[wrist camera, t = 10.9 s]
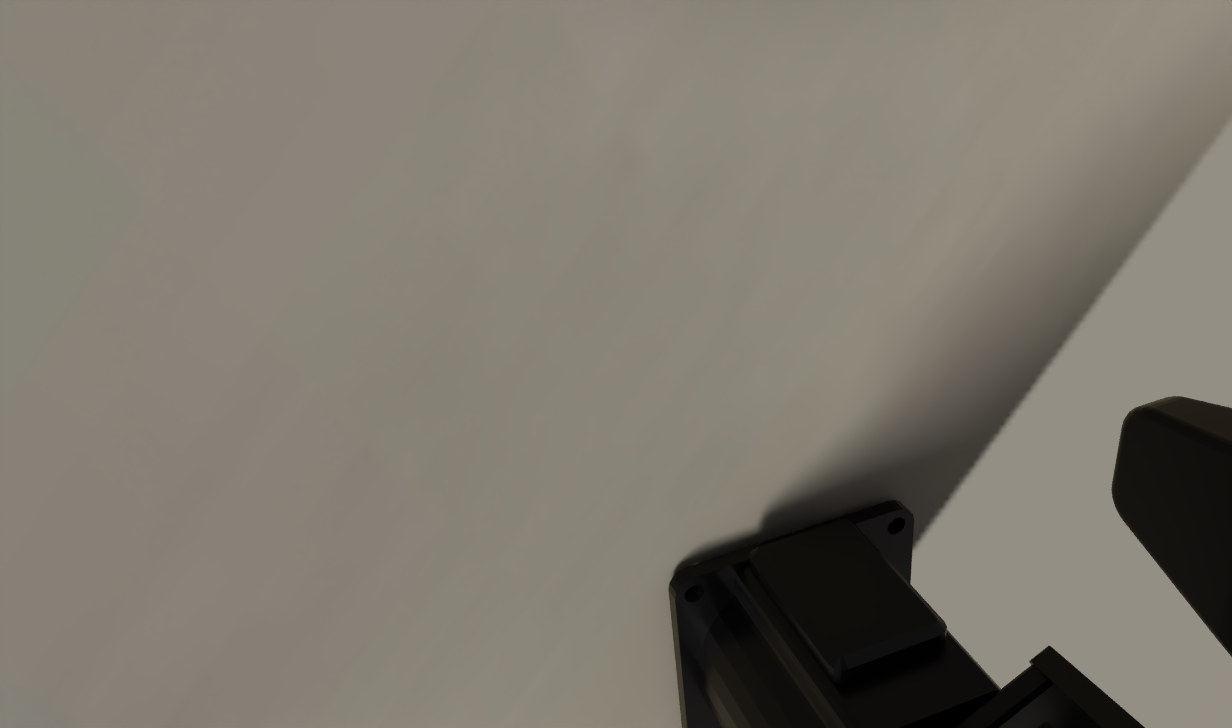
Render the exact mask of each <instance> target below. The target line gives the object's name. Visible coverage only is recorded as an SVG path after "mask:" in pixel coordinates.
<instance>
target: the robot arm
mask: <svg viewBox="0 0 1232 728" xmlns="http://www.w3.org/2000/svg"><path fill="white" fill-rule="evenodd" d="M1112 497H1113V501H1114V504H1115V507H1116V509H1117V511H1118V513H1119V515H1120V517H1121V518H1122V519H1123V521H1124V522H1125V523H1126V525H1127V526H1128V527H1129V528H1130V530H1131V531H1132V532H1133V533H1134V535H1135V536H1136V537H1137V539H1139V541H1140V542H1141V544H1142V545H1143V546H1144V547H1145V549H1146V550H1147V551H1148V552H1149V554H1150V555H1151V556H1152V557H1153V559H1154V560H1155V561H1156V562H1157V564H1158V565H1159V566H1160V568H1161V569H1162V570H1163V571H1164V573H1165V574H1166V575H1167V576H1168V577H1169V579H1170V580H1171V581H1172V583H1173V584H1174V585H1175V587H1176V588H1177V589H1178V590H1179V592H1180V593H1181V594H1182V595H1183V597H1184V598H1185V599H1186V600H1187V602H1188V603H1189V604H1190V605H1191V607H1192V608H1193V609H1194V610H1195V612H1196V613H1197V614H1198V616H1199V617H1200V618H1201V619H1202V620H1203V622H1204V623H1205V624H1206V626H1207V627H1208V628H1209V629H1210V630H1211V632H1212V633H1213V634H1214V635H1215V637H1216V638H1217V639H1218V641H1219V642H1220V643H1221V644H1222V646H1223V647H1224V648H1225V649H1226V650H1227V652H1228V653H1229V654H1230V655H1231V656H1232V408H1229V407H1224V406H1220V405H1216V404H1211V403H1207V402H1203V401H1198V400H1194V399H1190V398H1186V397H1179V396H1177V397H1176V396H1173V397H1167V398H1164V399H1160V400H1157V401H1155V402H1151V403H1148V404H1145V405H1142V406H1139V407H1136V408H1134V409H1133V410H1132V411H1130V412H1129V413H1128V415H1127V416H1126V417H1125V419H1124V421H1123V425H1122V429H1121V436H1120V441H1119V447H1118V453H1117V459H1116V464H1115V470H1114V476H1113V482H1112ZM892 520H893V521H892ZM891 521H892V522H891ZM890 522H891V523H890ZM913 524H914V519H913V514H912V513H911V512H910V511H909V510H908V509H907V508H906V507H905V506H904V505H903V504H902V503H901V502H899V501H896V500H893V501H887V502H884V503H881V504H878V505H875V506H872V507H869V508H866V509H863V510H860V511H857V512H854V513H851V514H848V515H845V516H842V517H839V518H836V519H832V520H829V521H826V522H823V523H820V524H817V525H814V526H811V527H808V528H805V529H802V530H799V531H796V532H793V533H790V534H787V535H784V536H781V537H778V538H775V539H772V540H768V541H765V542H762V543H759V544H756V545H753V546H750V547H747V548H744V549H741V550H738V551H735V552H732V553H729V554H726V555H723V556H720V557H717V558H714V559H711V560H708V561H704V562H701V563H698V564H695V565H692V566H689V567H686V568H684V569H682V570H680V571H679V572H678V573H677V574H675V575H674V576H673V578H672V580H671V581H670V583H669V598H670V608H671V619H672V629H673V639H674V649H675V660H676V670H677V680H678V690H679V700H680V711H681V721H682V728H1145V727H1143V726H1142V725H1141V724H1140V723H1139V722H1138V721H1137V720H1135V719H1134V718H1133V717H1132V716H1131V715H1130V714H1129V713H1127V712H1126V711H1125V710H1124V709H1123V708H1122V707H1120V706H1119V705H1118V704H1117V703H1116V702H1115V701H1113V700H1112V699H1111V698H1110V697H1109V696H1108V695H1106V694H1105V693H1104V692H1103V691H1102V690H1101V689H1100V688H1098V687H1097V686H1096V685H1095V684H1094V683H1093V682H1091V681H1090V680H1089V679H1088V678H1087V677H1085V676H1084V675H1083V674H1082V673H1081V672H1080V671H1079V670H1078V669H1076V668H1075V667H1074V666H1073V665H1072V664H1071V663H1069V662H1068V661H1067V660H1066V659H1065V658H1064V657H1062V656H1061V655H1060V654H1059V653H1058V652H1057V651H1055V650H1054V649H1053V648H1052V647H1051V646H1048V647H1047V648H1045V649H1044V650H1043V651H1042V652H1040V653H1039V654H1038V655H1037V656H1035V657H1034V658H1033V659H1031V660H1030V661H1029V662H1030V663H1031V666H1030V667H1029V668H1027V669H1026V670H1025V671H1024V672H1022V673H1021V674H1020V675H1018V676H1017V677H1016V678H1015V679H1013V680H1012V681H1011V682H1010V683H1008V684H1007V685H1006V686H1005V687H1003V688H1002V689H1001V688H1000V687H999V686H998V685H997V684H996V683H995V682H994V681H993V680H992V679H991V677H990V676H989V675H987V673H986V672H985V671H984V670H983V669H982V668H981V666H980V665H979V664H978V663H977V662H976V661H975V660H974V659H973V658H972V657H971V655H969V653H968V652H967V651H966V650H965V649H964V648H963V647H962V646H961V645H960V644H959V642H958V641H957V640H956V639H955V638H954V637H953V636H952V635H951V633H950V632H949V631H948V630H947V626H946V624H945V622H944V621H943V620H942V618H941V617H940V616H938V614H937V613H936V612H935V611H934V610H933V609H932V608H931V606H930V605H929V604H928V603H927V602H926V601H925V600H924V599H923V598H922V597H921V595H919V593H918V592H917V591H916V590H915V589H914V588H913V587H912V586H911V585H910V580H911V562H912V543H913ZM694 585H696V586H695V587H694V588H693V589H692V590H690V591H687V590H688V589H689V588H690V587H692V586H694ZM686 591H687V592H686Z"/></svg>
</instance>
